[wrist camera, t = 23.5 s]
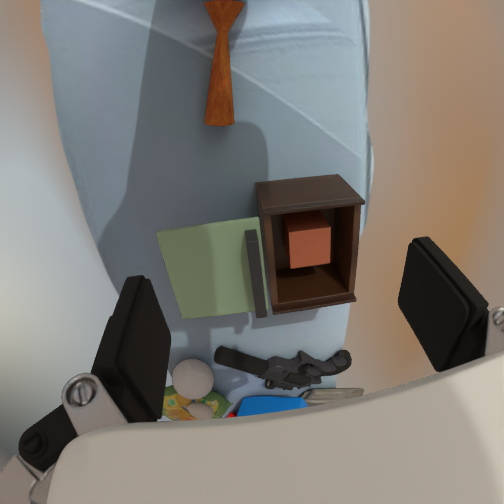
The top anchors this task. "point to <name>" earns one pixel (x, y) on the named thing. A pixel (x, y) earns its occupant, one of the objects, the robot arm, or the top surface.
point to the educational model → (182, 414)
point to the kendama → (221, 63)
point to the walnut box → (341, 250)
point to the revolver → (285, 367)
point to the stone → (330, 395)
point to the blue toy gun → (268, 405)
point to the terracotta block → (306, 238)
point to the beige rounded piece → (193, 386)
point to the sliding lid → (216, 268)
